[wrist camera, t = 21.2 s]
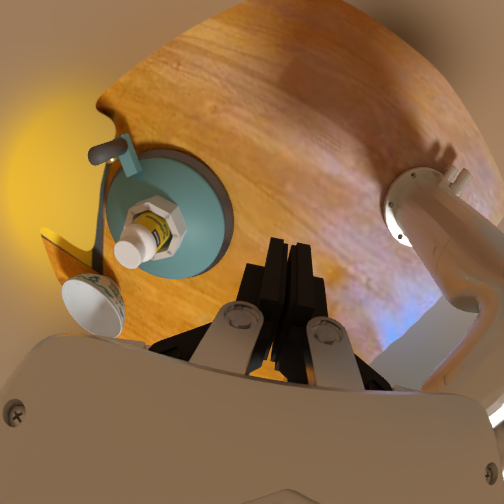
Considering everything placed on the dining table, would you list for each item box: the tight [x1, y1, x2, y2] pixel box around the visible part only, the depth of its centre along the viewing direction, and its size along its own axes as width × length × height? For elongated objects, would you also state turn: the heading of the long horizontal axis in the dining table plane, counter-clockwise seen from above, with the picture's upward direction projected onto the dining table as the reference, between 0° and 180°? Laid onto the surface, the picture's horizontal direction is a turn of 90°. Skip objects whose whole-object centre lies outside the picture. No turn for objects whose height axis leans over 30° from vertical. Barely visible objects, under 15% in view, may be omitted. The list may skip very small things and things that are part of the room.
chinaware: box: [62, 273, 125, 338], centre depth 49 cm, size 15×15×8 cm
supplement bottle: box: [114, 210, 172, 269], centre depth 35 cm, size 5×5×10 cm
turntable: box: [88, 133, 226, 279], centre depth 36 cm, size 24×20×9 cm
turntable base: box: [106, 148, 234, 278], centre depth 40 cm, size 22×23×5 cm
